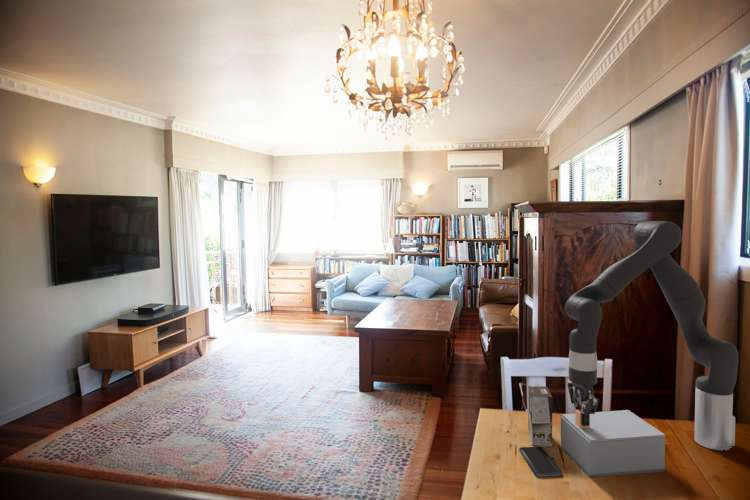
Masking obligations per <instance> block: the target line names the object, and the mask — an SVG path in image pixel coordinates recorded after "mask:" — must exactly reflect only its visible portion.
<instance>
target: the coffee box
mask: <svg viewBox="0 0 750 500" xmlns="http://www.w3.org/2000/svg"><path fill="white" fill-rule="evenodd" d="M527 419H528V421H527V424H528V427H527V430H528V432H527V433H528V436H529V439H530V442H531V445H532V446H538V447H553V396H552V394H551V392H550V389H549V388H548V386H543V385H539V386H537V385H536V386H530V385H529V386H527Z"/></svg>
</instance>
